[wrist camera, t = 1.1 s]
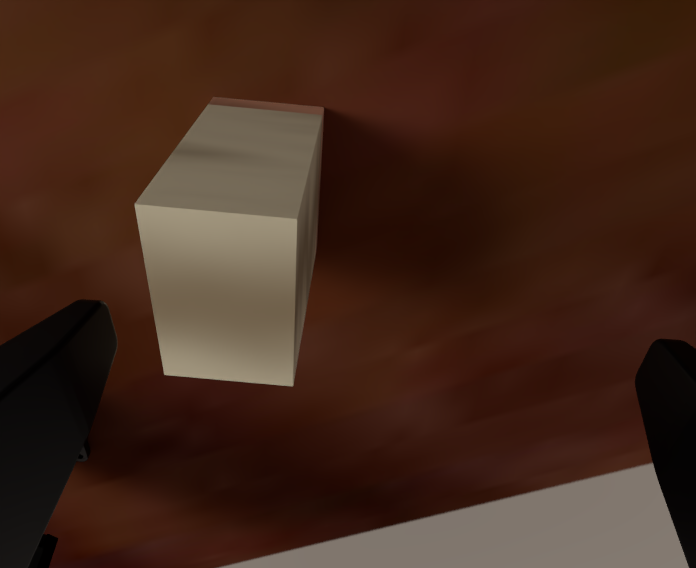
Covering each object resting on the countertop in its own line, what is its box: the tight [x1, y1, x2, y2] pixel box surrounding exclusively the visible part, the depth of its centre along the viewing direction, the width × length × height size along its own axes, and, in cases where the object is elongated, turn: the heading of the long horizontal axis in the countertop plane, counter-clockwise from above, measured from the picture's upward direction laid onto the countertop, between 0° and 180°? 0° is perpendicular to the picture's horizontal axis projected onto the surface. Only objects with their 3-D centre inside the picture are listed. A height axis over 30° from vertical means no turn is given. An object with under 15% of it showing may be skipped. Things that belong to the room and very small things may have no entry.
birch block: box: [135, 97, 324, 386], centre depth 19 cm, size 6×4×8 cm, turn 176°
